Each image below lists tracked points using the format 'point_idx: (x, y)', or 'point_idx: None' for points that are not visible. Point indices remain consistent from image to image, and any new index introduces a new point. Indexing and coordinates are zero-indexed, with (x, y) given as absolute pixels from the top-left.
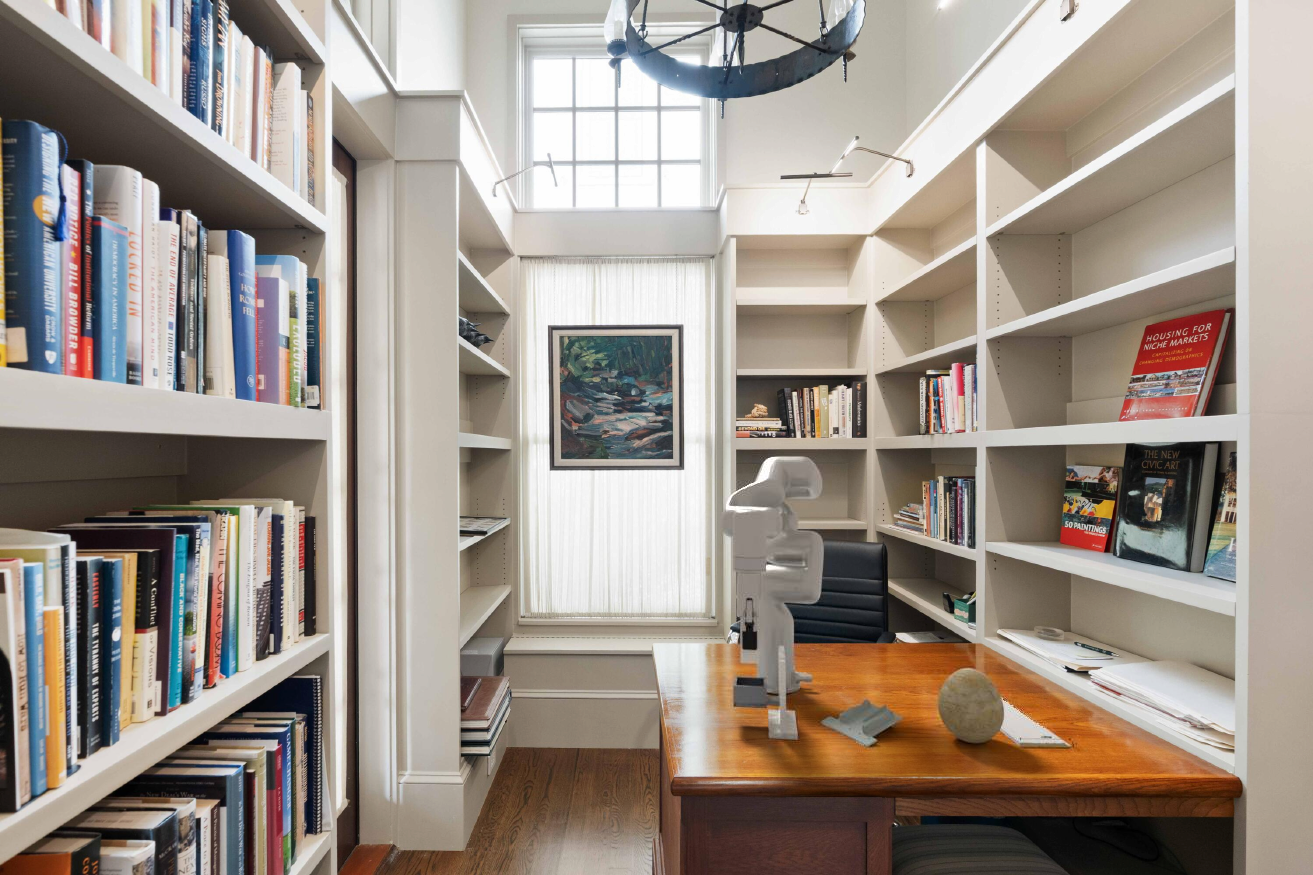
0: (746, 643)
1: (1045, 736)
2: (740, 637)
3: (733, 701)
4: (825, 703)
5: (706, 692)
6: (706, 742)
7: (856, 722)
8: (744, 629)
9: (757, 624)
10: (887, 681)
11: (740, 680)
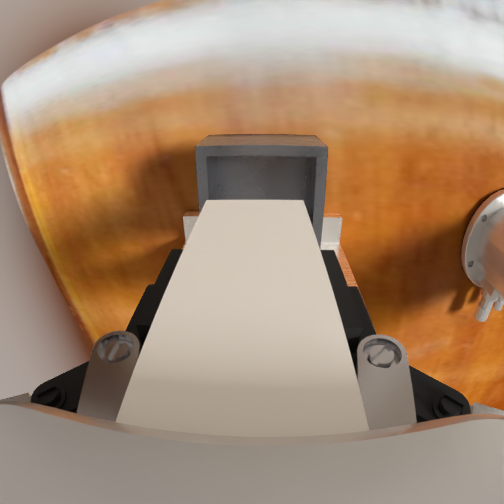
0: (146, 292)
1: None
2: (174, 273)
3: (206, 137)
4: (401, 323)
5: (477, 72)
6: (128, 76)
7: None
8: (96, 351)
9: None
10: (466, 388)
11: (314, 166)
